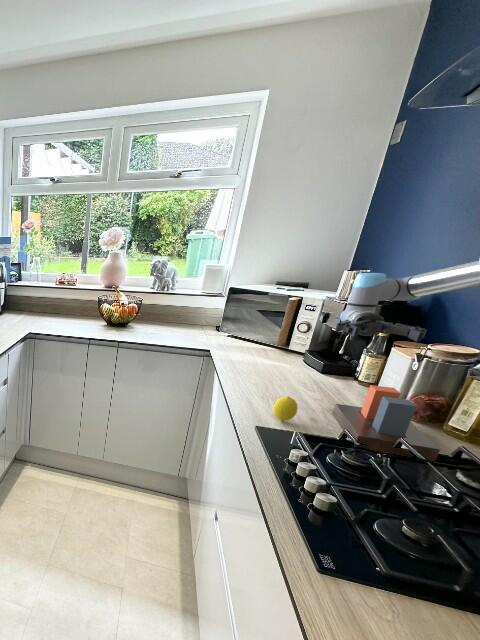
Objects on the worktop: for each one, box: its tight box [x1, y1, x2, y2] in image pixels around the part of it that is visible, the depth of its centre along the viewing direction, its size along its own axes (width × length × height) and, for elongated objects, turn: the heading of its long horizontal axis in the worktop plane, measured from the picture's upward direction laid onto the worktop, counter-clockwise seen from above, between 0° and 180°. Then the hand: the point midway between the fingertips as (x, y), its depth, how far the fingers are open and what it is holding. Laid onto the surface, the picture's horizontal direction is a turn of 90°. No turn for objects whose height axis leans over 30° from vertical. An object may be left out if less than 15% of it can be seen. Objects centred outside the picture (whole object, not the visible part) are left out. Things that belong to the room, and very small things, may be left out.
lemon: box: [272, 395, 298, 422], centre depth 118 cm, size 6×6×8 cm
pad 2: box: [372, 396, 417, 437], centre depth 104 cm, size 5×5×12 cm
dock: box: [331, 403, 441, 463], centre depth 110 cm, size 15×25×4 cm, turn 149°
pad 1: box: [360, 384, 401, 420], centre depth 113 cm, size 5×5×12 cm
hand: (387, 334), depth 117 cm, fingers open, 13 cm apart
